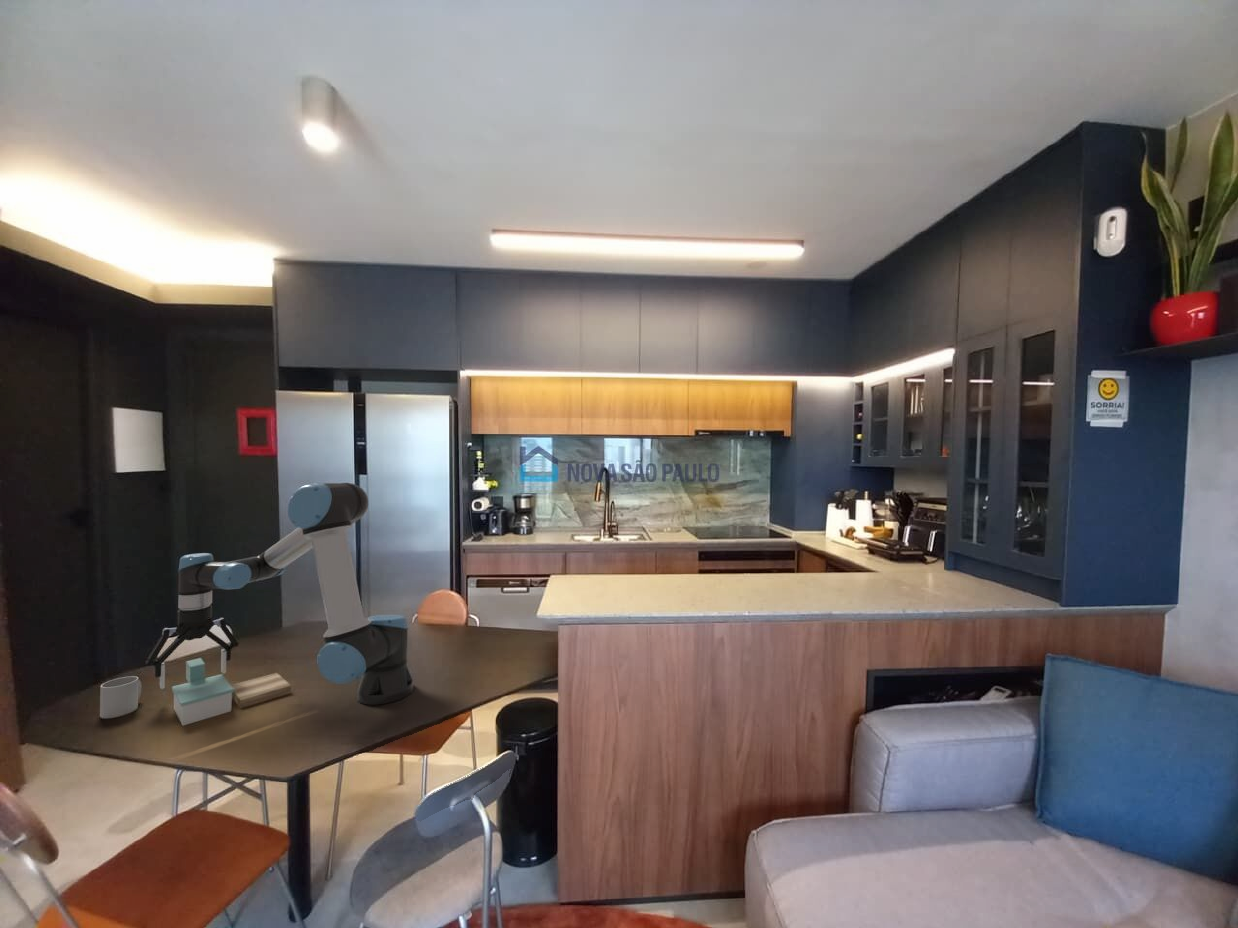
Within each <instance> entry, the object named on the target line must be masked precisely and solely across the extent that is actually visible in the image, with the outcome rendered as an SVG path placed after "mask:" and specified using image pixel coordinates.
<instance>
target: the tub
mask: <svg viewBox="0 0 1238 928" xmlns="http://www.w3.org/2000/svg"><path fill="white" fill-rule="evenodd" d="M232 701H233V698H232V692H231V693H228V694H224V695H220V696H217V697H213V698H210V699H206V700H203V701H199V702H195V703H192V704H188V705H185V706H181V705H180V704H179V702H178V700H177V698H176V696H175V694H174V693H173V710H174V712H175V714H176V716H177V718H178V720H179V721H180V724H181V725H182V726H186V725H190V724H193V723H196V722H200V721H203V720H206V719H207V720H208V719H209V718H212V717H216V716H219V715H223V714H226V713H229V712H232Z"/></svg>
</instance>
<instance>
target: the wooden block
mask: <svg viewBox="0 0 1238 928" xmlns="http://www.w3.org/2000/svg"><path fill="white" fill-rule="evenodd" d="M230 685H231V686H232V687H233V688H234V692H232V700H233V701H234V702H235V703H236V704H237V706H238V707H239V708H240V709H242V708H246V707H250V706H252V705H256V704H259V703H263V702H265V701H270V700H272V699H275V698H279V697H283V696H286V695H289V694H291V693H292V686H291V684H290V682H288V681H287V680H286V679H285V678H283V676H281V675H280V674H279V673H278V672H275V673H270V674H267V675H263V676H262V675H261V676H259V677H255V678H251V679H248V680H247V679H246V680H244V681H241V682H236V683H233V684H230Z"/></svg>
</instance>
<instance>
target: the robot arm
mask: <svg viewBox="0 0 1238 928" xmlns="http://www.w3.org/2000/svg"><path fill="white" fill-rule="evenodd" d="M368 507H369V497H368V495H367V493H366V491H365V490H364V489H363V488H362V487H360V486H359V485H358V484H354V483H349V482H341V483H339V482H337V483H335V482H334V483H333V482H332V483H331V482H330V483H329V482H328V483H325V482H324V483H322V482H318V483H312V484H306V485H303V486H301V487H299V488H298V489H296V490H295V491H294V492H293V494H292V496H291V497H289V501H288V504H287V517H288V518H289V521H290V522H291V523H292V524H293V525H294V526H295V527H297V528H295V529H294V530H293V531H292V532H290V533H288V534H287V535H285V536H284V537H283V538H281V539H280V540H278V541H277V542H276V543H275V544H273V545H272V546H270V547H269V548H268V549H266V550H265V551H263V552H262V553H261V554H259V555H257V556H251V557H247V558H241V559H240V558H239V559H236V560H231V561H214V560H215V559H214V556H213V554H212V553H208V552H207V553H206V552H202V553H199V552H198V553H191V554H185V555H183V556H181V557H180V559H179V565H178V570H177V571H178V603H177V604H178V605H177V608H178V610H177V625H176V627H171V628H170V627H164V628H162V631H161V635H160V638H159V639H158V641H157V643H156V644H155V646H154V647H153V649H152V650H151V652H150V654H149V655H148V657H147V659H146V661H145V664H146V666H148V667H150V666H153V667H154V676H155V678H159V689H161V690H163V689H165V687H166V686H165V685H166V684H165V682H166V680H165V678H166V664H165V661H166V660H167V659H168V658H169V657H170V656H171V654H173V653H174V651H175V650H177V649H178V647H179V646H180V645H182V643H184V642H185V641H188V642H189V641H193V640H196V639H203V638H204V637H208V638H209V639H210V640H212V641H214V642H215V643H216V644H218V645H219V646H221V647H222V648H223V649H221V651H220V652H221V654H220V656H221V657H220V672H221V674H226V673H227V661H230V660H231V658H232V657H231V651H232V649H233V648H235V647H238V646H239V642H238V640H237V639H236V638H235V636H234V635H233V633H232V632H231V631H230V629H229V627H228V626H227V621H226V619H225V618H224V617H219V618H217V619H215V620H213V606H212V603H213V589H216V590H219V589H220V590H227V591H228V590H238V589H239V590H240V589H242V588H244V587H245V586H246V585H247V584H249V583H254V582H259V581H262V580H266V579H271V578H275V577H277V576H281V575H282V574H284V573H285V572H286V570H287V568H288V566H289V565H290V564H291V563H292V562H294V561H295V560H297V559H298V558H300V557H301V556H303V555H305V554H306V553H307V552H309V551H310V550H311V549H312V551H313V557H314V561H315V567H316V572H317V577H318V581H319V586H320V591H321V596H322V601H323V608H324V612H325V616H326V617H325V618H326V622H327V630H326V631H325V632H324V634H323V635H322V636H323V641H324V645H323V647H321V648H320V650H319V653H318V654H317V657H316V658H317V659H316V663H317V667H318V671H319V672H320V673H321V675H322V676H323V677H324V678H325V679H326V680H329V681H330V682H331V683H334V684H338V685H339V684H340V685H344V684H348V683H351V682H352V681H354V680H357V679H360V682H359V685H358V688H357V691H356V694H357V696H356V698H357V699H356V700H357V701H358V702H359V703H360V704H364V705H368V706H369V705H370V706H371V705H373V706H374V705H383V704H384V705H385V704H389V703H393V702H396V701H398V700H401V699H403V698H405V697H408V696H409V694H411V693H412V691H413V690H414V679H413V675H411V674H412V673H411V671H410V668H409V665H408V630H409V627H408V619H407V617H405V616H404V615H402V614H378V615H371V616H368V617H365V616H364V611H363V607H362V603H361V597H360V593H359V586H358V583H357V576H356V573H355V567H354V563H353V558H352V557H353V556H352V553H351V547H350V543H349V538H348V532H349V531H350V529H351V527H352V525H353V524H355V523H356V522H357V521H359V520H360V519H361V518H362V517H363V516H364V515H365V514H366V512H367V510H368V509H369V508H368ZM214 626H216V627H218V628H219V627H220V629H221V631H222V632H223V634H224V635H225V637H226V638H227V639H228V640H229V643H227V642H226V641H225V640H224V639H222V638H220V637H219V636H218V635H216V634H215V633H213V632H212V631H211V629H213V627H214ZM174 633H176V634H177V635H178V636H176V638H175V639H174V640H173V641H172V643H171V644H170V645H168V647H167V648H166V649H165V650H164V651H163V652H162V653H161V651H162V649H163V648H164V646H165V645H166V642H168V639H169V637H171V636H172V635H173V634H174ZM160 653H161V654H160ZM159 654H160V655H159Z"/></svg>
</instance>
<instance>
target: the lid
mask: <svg viewBox="0 0 1238 928" xmlns="http://www.w3.org/2000/svg"><path fill="white" fill-rule="evenodd" d="M185 679H186V681H187V682H185V683H181V684H177V685H173V686H171V691H172V693H173V695H174V694H175V696H176V698H177V700H178V702H179V704H180V705H181V706H185V705H188V704H192V703H195V702H199V701H203V700H206V699H210V698H213V697H217V696H220V695H224V694H228V693H231V692H234V688H233V687H232V686H231V685H232V684H231V683H229V681H228V680H227V679H226V678H225V676H224V674H223V673H221V674H216V675H213V676H209V677H206V663H205V662H204V660H203V658H201V657H199V658H194V659H190V660H187V661H185Z"/></svg>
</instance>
